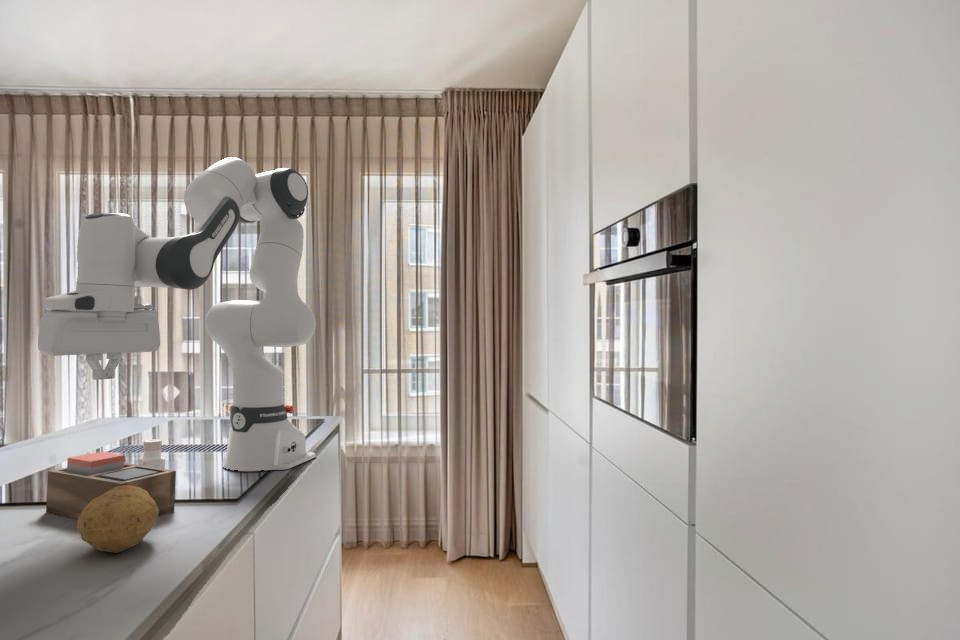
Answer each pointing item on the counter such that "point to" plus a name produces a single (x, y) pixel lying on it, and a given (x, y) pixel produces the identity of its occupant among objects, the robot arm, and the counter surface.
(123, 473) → the grey cube
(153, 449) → the pepper shaker
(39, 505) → the counter surface
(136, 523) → the potato
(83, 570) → the counter surface
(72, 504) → the wooden divided tray
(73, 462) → the red and grey cube
